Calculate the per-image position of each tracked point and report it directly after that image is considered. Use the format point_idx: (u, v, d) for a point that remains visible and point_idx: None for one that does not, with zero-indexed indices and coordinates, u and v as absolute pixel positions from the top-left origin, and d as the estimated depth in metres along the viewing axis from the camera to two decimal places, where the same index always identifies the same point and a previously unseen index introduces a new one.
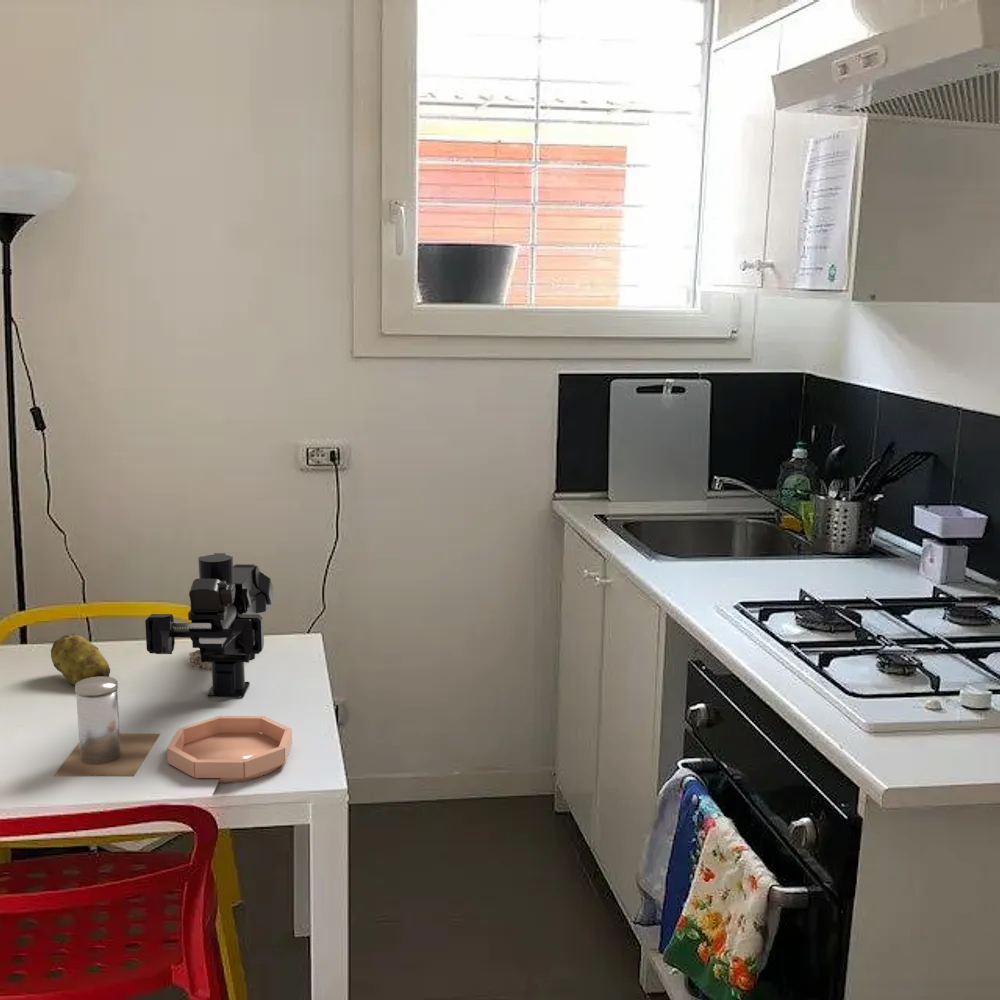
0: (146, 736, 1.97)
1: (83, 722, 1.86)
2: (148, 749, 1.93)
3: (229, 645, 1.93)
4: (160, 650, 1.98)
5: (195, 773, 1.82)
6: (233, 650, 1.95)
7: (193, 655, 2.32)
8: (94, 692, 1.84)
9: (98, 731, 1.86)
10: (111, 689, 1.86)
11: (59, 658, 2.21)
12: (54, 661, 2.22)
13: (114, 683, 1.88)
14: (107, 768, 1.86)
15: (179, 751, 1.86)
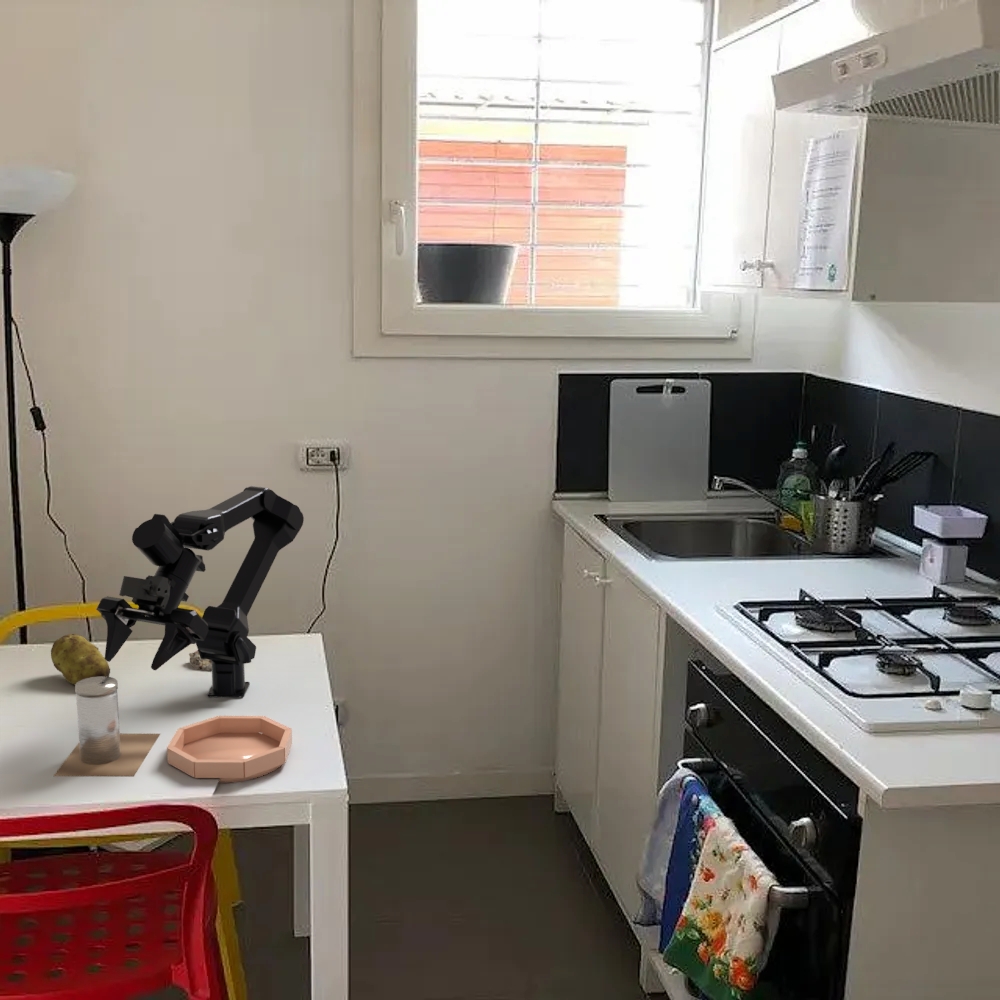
0: (146, 736, 1.97)
1: (83, 722, 1.86)
2: (148, 749, 1.93)
3: (160, 659, 1.93)
4: None
5: (195, 773, 1.82)
6: (169, 656, 1.94)
7: (193, 655, 2.32)
8: (94, 692, 1.84)
9: (98, 731, 1.86)
10: (111, 689, 1.86)
11: (59, 658, 2.21)
12: (54, 661, 2.22)
13: (114, 683, 1.88)
14: (107, 768, 1.86)
15: (179, 751, 1.86)
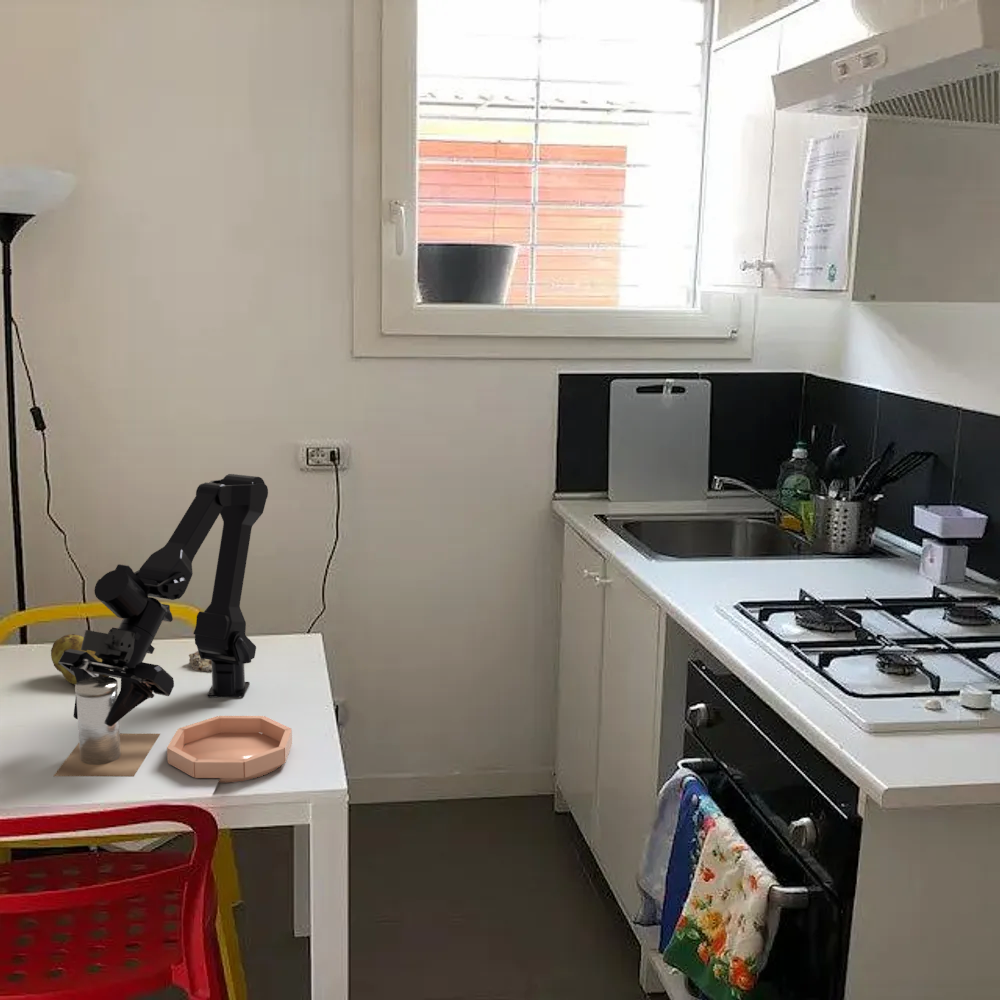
0: (146, 736, 1.97)
1: (83, 722, 1.86)
2: (148, 749, 1.93)
3: (115, 715, 1.86)
4: None
5: (195, 773, 1.82)
6: (125, 711, 1.88)
7: (193, 656, 2.32)
8: (94, 692, 1.84)
9: (98, 731, 1.86)
10: (111, 689, 1.86)
11: (59, 658, 2.21)
12: (54, 661, 2.22)
13: (114, 683, 1.87)
14: (107, 768, 1.86)
15: (179, 751, 1.86)
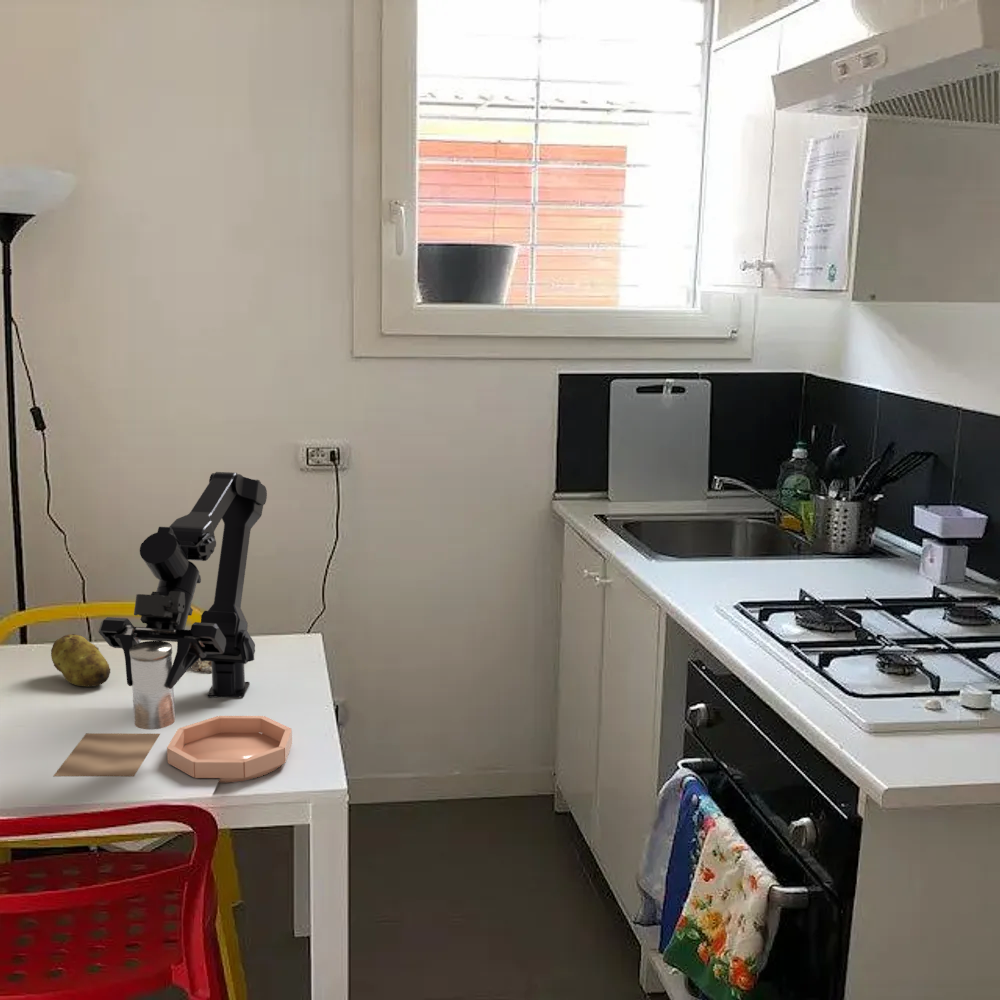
0: (146, 736, 1.97)
1: (142, 687, 1.83)
2: (148, 749, 1.93)
3: (175, 676, 1.85)
4: None
5: (195, 773, 1.82)
6: (182, 673, 1.87)
7: None
8: (155, 655, 1.83)
9: (159, 695, 1.84)
10: (169, 651, 1.85)
11: (59, 658, 2.21)
12: (54, 661, 2.22)
13: (169, 645, 1.86)
14: (107, 768, 1.86)
15: (179, 751, 1.86)
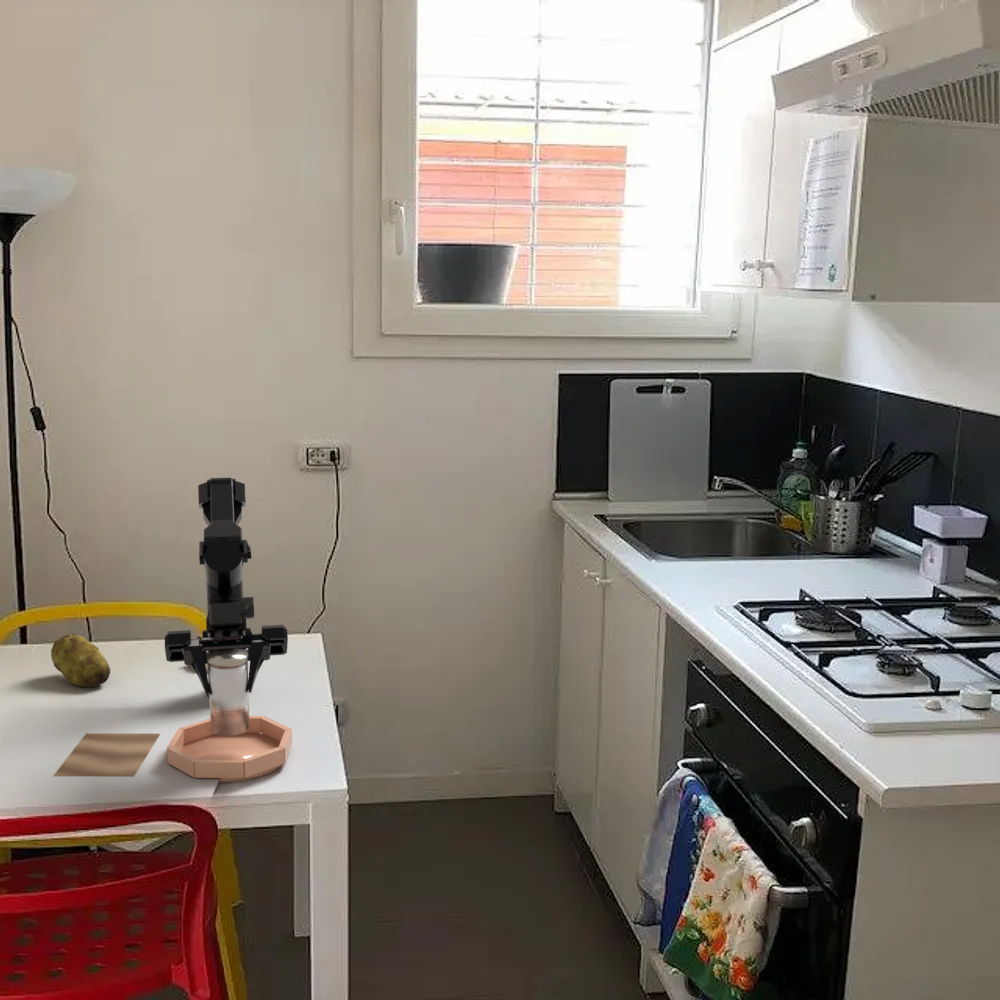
0: (146, 736, 1.97)
1: (227, 694, 1.86)
2: (148, 749, 1.93)
3: (253, 680, 1.89)
4: (192, 663, 1.92)
5: (195, 773, 1.82)
6: (255, 676, 1.91)
7: None
8: (240, 661, 1.86)
9: (242, 700, 1.88)
10: None
11: (59, 658, 2.21)
12: (54, 661, 2.22)
13: (243, 651, 1.90)
14: (107, 768, 1.86)
15: (179, 751, 1.86)
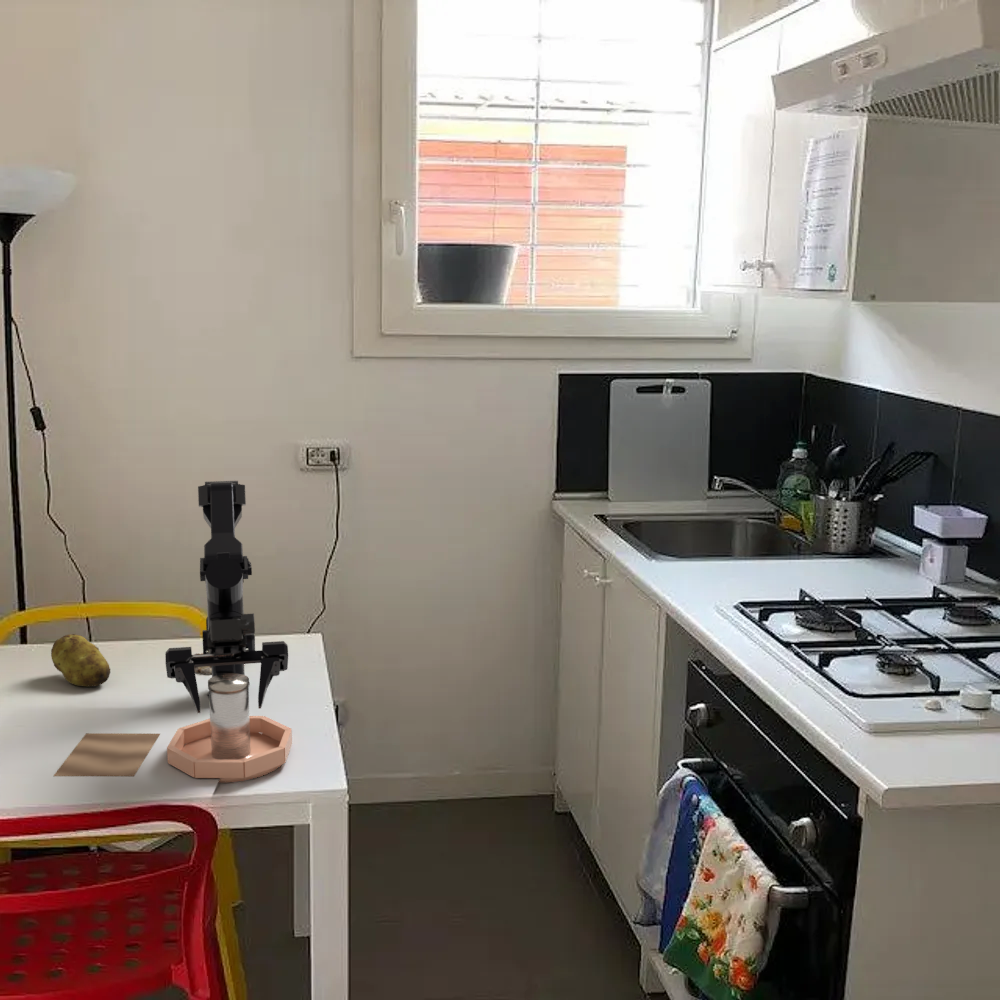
0: (146, 736, 1.97)
1: (228, 720, 1.87)
2: (148, 749, 1.93)
3: (263, 696, 1.90)
4: (183, 681, 1.92)
5: (195, 773, 1.82)
6: (265, 692, 1.92)
7: None
8: (240, 686, 1.87)
9: (243, 725, 1.89)
10: (248, 681, 1.89)
11: (59, 658, 2.21)
12: (54, 661, 2.22)
13: (244, 676, 1.91)
14: (107, 768, 1.86)
15: (179, 751, 1.86)
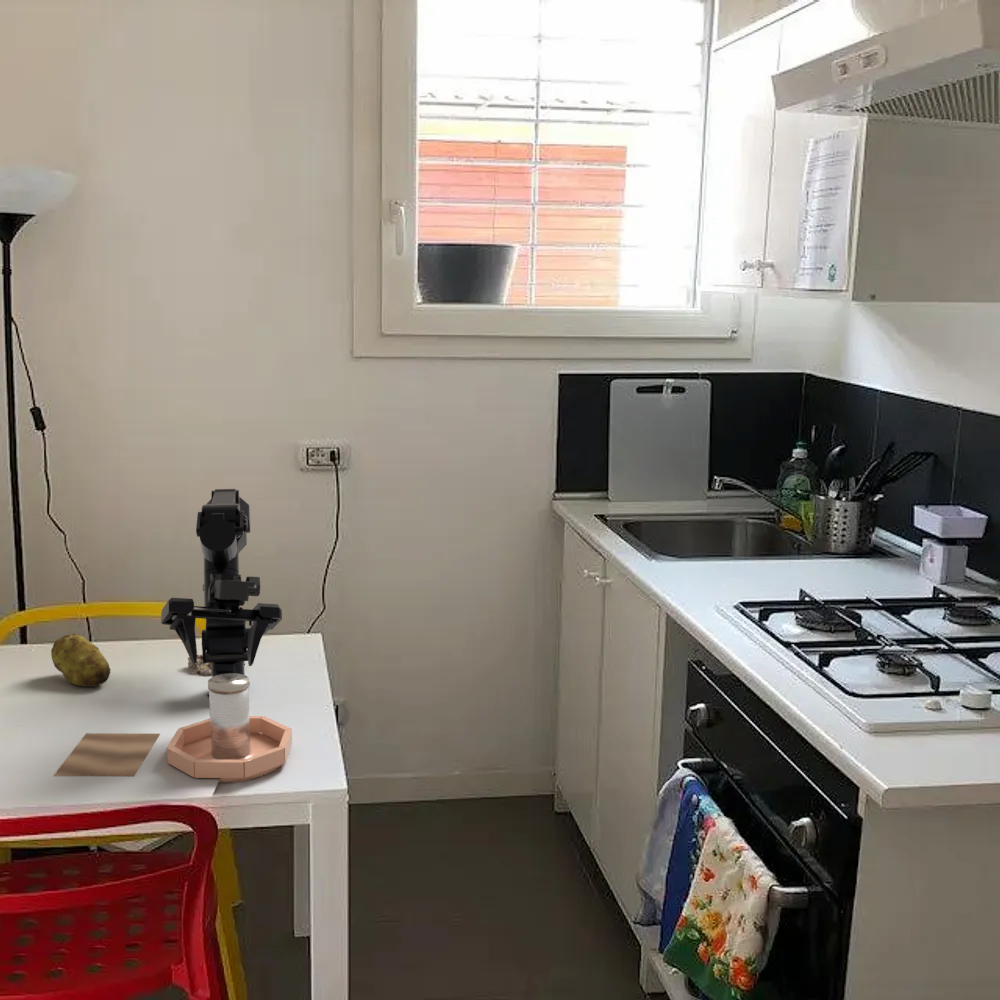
0: (146, 736, 1.97)
1: (228, 720, 1.87)
2: (148, 749, 1.93)
3: None
4: (176, 629, 1.99)
5: (195, 773, 1.82)
6: None
7: None
8: (241, 686, 1.87)
9: (243, 725, 1.89)
10: None
11: (60, 658, 2.21)
12: (54, 661, 2.22)
13: (244, 676, 1.91)
14: (107, 768, 1.86)
15: (179, 751, 1.86)
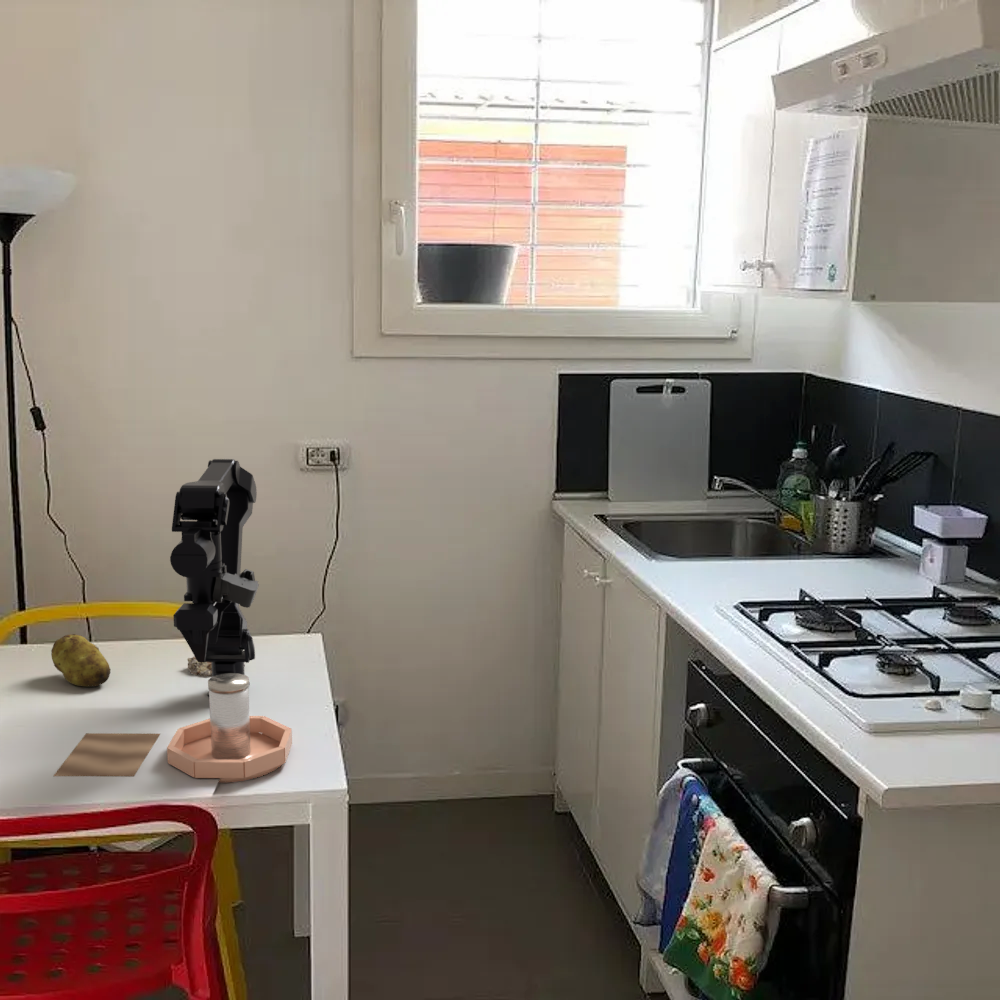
0: (146, 736, 1.97)
1: (228, 720, 1.87)
2: (148, 749, 1.93)
3: None
4: None
5: (195, 773, 1.82)
6: None
7: (191, 661, 2.29)
8: (241, 686, 1.87)
9: (243, 725, 1.89)
10: None
11: (60, 658, 2.21)
12: (54, 661, 2.22)
13: (244, 676, 1.91)
14: (107, 768, 1.86)
15: (179, 751, 1.86)
